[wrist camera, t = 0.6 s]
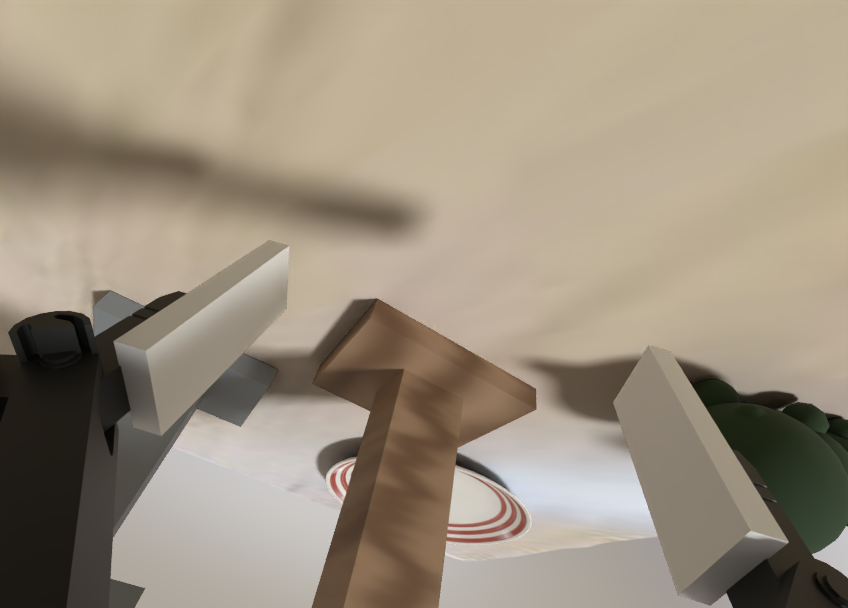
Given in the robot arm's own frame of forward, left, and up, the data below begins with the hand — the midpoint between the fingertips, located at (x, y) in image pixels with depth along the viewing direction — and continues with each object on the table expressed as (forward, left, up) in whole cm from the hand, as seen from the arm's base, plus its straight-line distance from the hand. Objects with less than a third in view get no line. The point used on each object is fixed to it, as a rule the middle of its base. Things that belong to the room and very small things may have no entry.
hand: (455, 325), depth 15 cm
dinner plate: (+46, 0, -11) cm, 47 cm away
